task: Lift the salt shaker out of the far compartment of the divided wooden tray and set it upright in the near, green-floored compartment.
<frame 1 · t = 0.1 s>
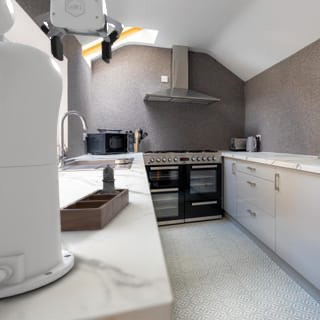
hand: (82, 60, 58), 37 cm above the counter, tool pointing down, fingers open, 9 cm apart
divided wooden tray: (99, 214, 68), on the counter
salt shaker: (109, 206, 75), resting on divided wooden tray
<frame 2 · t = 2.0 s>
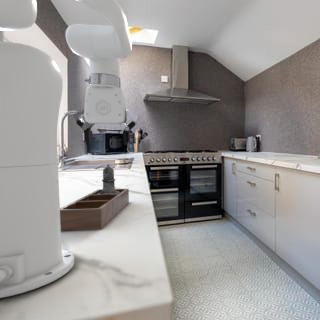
hand: (107, 144, 75), 18 cm above the counter, tool pointing down, fingers open, 9 cm apart
nothing on the counter moved.
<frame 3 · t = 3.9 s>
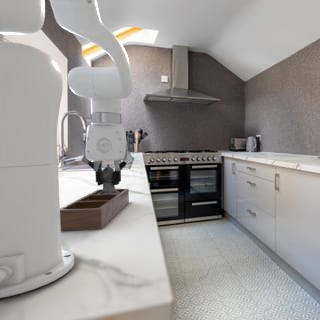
hand: (108, 183, 75), 7 cm above the counter, tool pointing down, fingers closed on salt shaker, 3 cm apart
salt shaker: (109, 206, 75), resting on divided wooden tray, touching gripper
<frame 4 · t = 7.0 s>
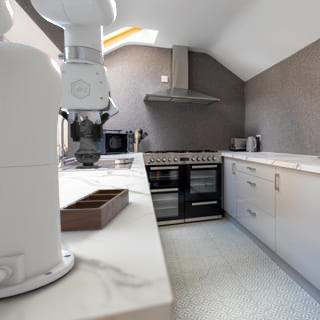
hand: (87, 140, 60), 19 cm above the counter, tool pointing down, fingers closed on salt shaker, 3 cm apart
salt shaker: (88, 168, 60), point 13 cm above the counter, touching gripper
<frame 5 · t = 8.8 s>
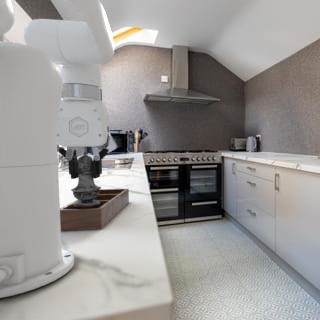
hand: (86, 176, 59), 11 cm above the counter, tool pointing down, fingers closed on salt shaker, 3 cm apart
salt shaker: (87, 204, 60), point 4 cm above the counter, touching gripper
when the fingers open (7 cm above the counter, at t = 10.1 s): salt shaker stays where it is, resting on divided wooden tray.
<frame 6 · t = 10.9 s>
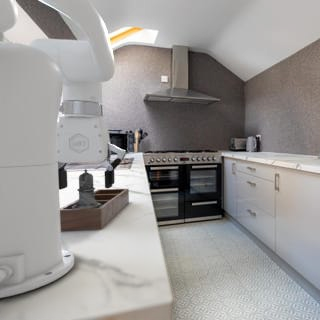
hand: (86, 187, 59), 8 cm above the counter, tool pointing down, fingers open, 9 cm apart
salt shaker: (87, 221, 60), resting on divided wooden tray
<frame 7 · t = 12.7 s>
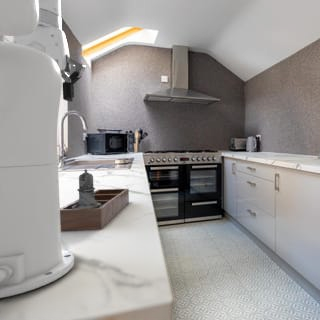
hand: (45, 100, 60), 28 cm above the counter, tool pointing down, fingers open, 9 cm apart
nothing on the counter moved.
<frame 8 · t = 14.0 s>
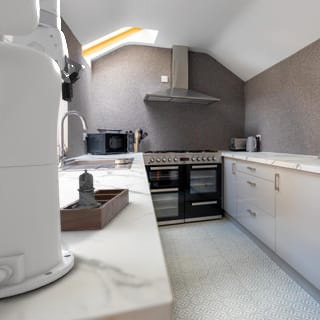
hand: (44, 100, 60), 28 cm above the counter, tool pointing down, fingers open, 9 cm apart
nothing on the counter moved.
at the end: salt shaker 0.1 cm from the target spot in the divided wooden tray, point 0.4 cm above the divided wooden tray's base; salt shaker tilted 0°; the gripper is holding nothing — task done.
